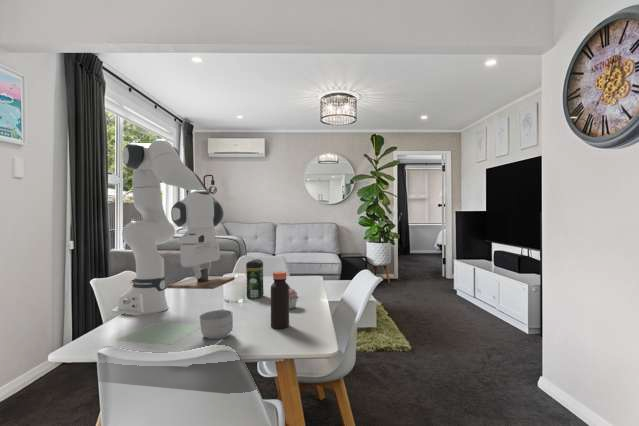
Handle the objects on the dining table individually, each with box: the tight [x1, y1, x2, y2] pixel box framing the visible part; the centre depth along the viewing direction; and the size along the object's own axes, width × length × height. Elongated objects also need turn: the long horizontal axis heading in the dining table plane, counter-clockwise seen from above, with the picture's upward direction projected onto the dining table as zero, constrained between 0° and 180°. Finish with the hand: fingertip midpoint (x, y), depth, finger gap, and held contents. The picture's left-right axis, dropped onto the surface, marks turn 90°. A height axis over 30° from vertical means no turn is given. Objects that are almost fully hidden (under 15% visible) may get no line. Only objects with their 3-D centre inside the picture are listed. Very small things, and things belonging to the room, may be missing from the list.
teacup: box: [199, 308, 234, 340], centre depth 125 cm, size 14×11×8 cm
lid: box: [167, 268, 235, 290], centre depth 125 cm, size 16×16×5 cm
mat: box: [116, 321, 201, 345], centre depth 127 cm, size 20×20×1 cm
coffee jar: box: [245, 259, 264, 300], centre depth 182 cm, size 10×8×19 cm
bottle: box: [270, 270, 290, 330], centre depth 134 cm, size 7×7×20 cm
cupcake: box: [289, 285, 299, 310], centre depth 161 cm, size 9×9×10 cm
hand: (202, 276), depth 125 cm, fingers closed on lid, 4 cm apart
